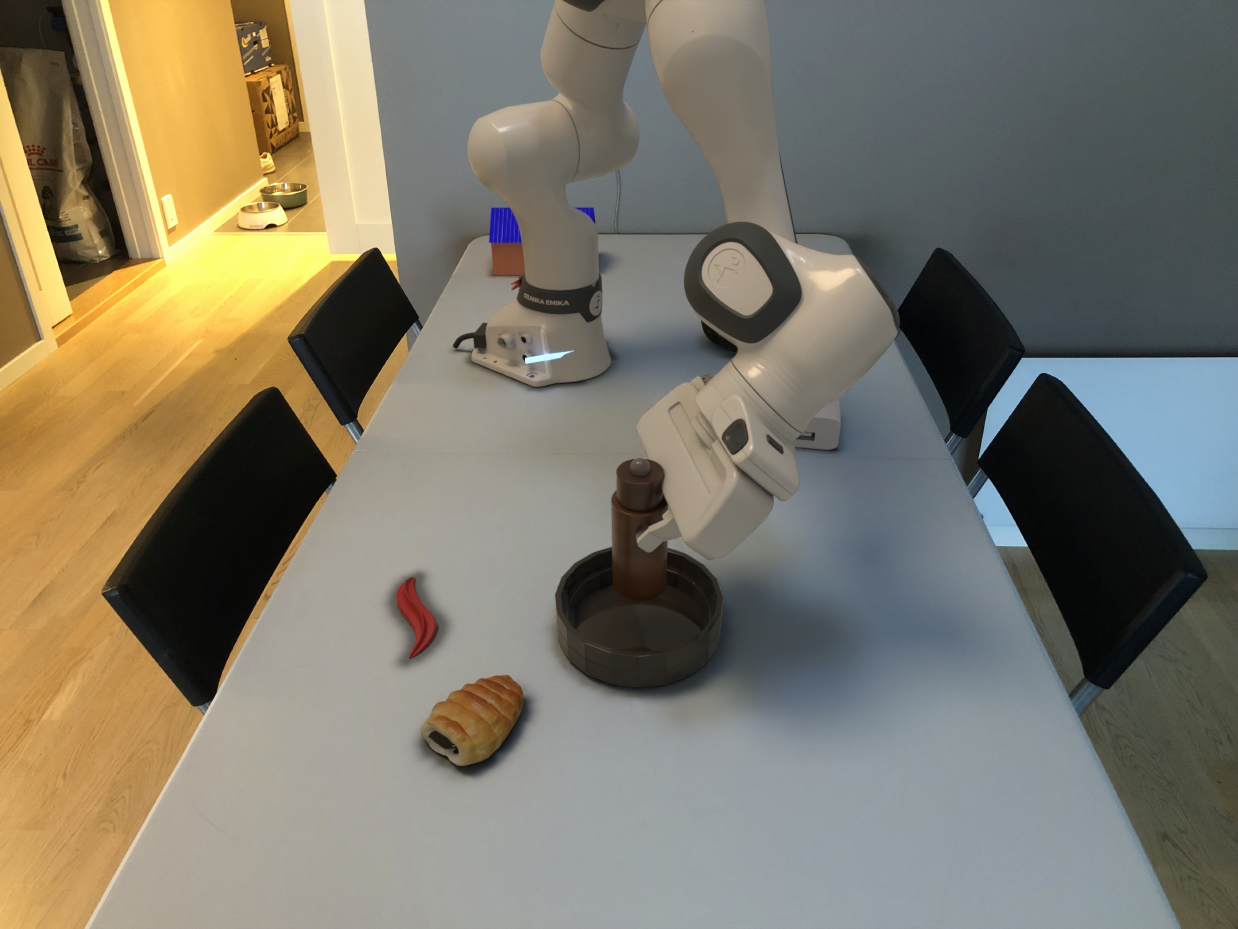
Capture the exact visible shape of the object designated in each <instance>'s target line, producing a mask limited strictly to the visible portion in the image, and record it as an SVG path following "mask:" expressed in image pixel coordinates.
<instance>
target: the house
mask: <svg viewBox="0 0 1238 929" xmlns="http://www.w3.org/2000/svg"><path fill="white" fill-rule="evenodd" d="M573 207H574V208H576V209H578V210H580V211H582V212H584V213H585V214H587V215H588V216H589V217H590V218H591V219H592V221H593V222H594V224H595V225H596V224H597V223H596V216H595V215H596V214H595V209H594V208H595V207H593V206H592V207H587V206H586V207H581V206H580V207H579V206H578V207H575V206H573ZM489 219H490V220H489V221H490V222H489V236H488V243H489V244H490V247H491V258H492V270H493V276H522V275H524V274H525V265H524V255H523V247H522V240H521V234H520V229H519V226H518V223H517V220H516V218H515V216H514V214H513V212H512V211H511V209H510V208H509V207H490V218H489Z"/></svg>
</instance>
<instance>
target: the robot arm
mask: <svg viewBox="0 0 1238 929" xmlns="http://www.w3.org/2000/svg"><path fill="white" fill-rule="evenodd" d="M645 28H646V31H647V37H648V38H647V39H648V44H649V51H650V55H651V60H652V64H653V67H654V70H655V74H656V76H657V79H658V82H659V85H660V87H661V90H662V93H663V95H664V97H665V100H666V102H667V103H668V105H669V107H670V108H671V110H672V112H673V113H674V114H675V115H676V117H677V118H678V120H679V121H680V122H681V124H682V126H683V127H684V128H685V130H686V131H687V132H688V133H689V135H690V136H691V137H692V139H693V140H694V142H695V144H696V145H697V147H698V148H699V149H700V152H701V153H702V154H703V156H704V158H705V159H706V161H707V163H708V164H709V166H710V168H711V170H712V172H713V174H714V176H715V178H716V181H717V183H718V186H719V190H720V193H721V197H722V203H723V208H724V213H725V218H726V223H725V224H722V225H721V226H718V227H717V228H715V229H713V230H711V231H710V232H708V233H707V234H706V235H705V236H703V238H702V239H700V241H699V242H698V243H697V245H696V246H695V247H694V249H693V250H692V252H691V253H690V255H689V258H688V259H687V262H686V265H685V268H684V275H683V289H684V293H685V297H686V299H687V302H688V303H689V306H690V307H691V309H692V310H693V311H694V313H695V314H696V315H697V317H698V318H699V320H700V321H701V320H702V321H703V322H704V323H705V324H707V325H708V326H709V327H710V328H712V329H713V330H715V331H716V332H717V333H718V334H719V335H721V336H722V337H724V338H725V339H727V340H728V341H730V342H731V343H733V344H734V346H735V347H736V348H737V349H738V351H737V352H736V353H735V355H734V356H733V357H732V359H730V360H729V361H728V363H726V364H725V365H724V366H723V367H722V368H721V369H720V370H719V371H718V372H717V373H716V374H715V375H713V374H711V373H709V374H706V375H705V374H704V375H697V376H696V377H694V378H693V379H692V380H690V382H688V381H687V382H683V383H680V384H679V385H677V386H676V387H674V388H673V389H671V391H669V392H668V393H667V394H666V395H664V396H663V397H662V398H661V399H660V400H658V401H657V402H656V403H655V404H654V405H653V406H652V407H650V408H649V409H648V410H647V411H646V412H644V414H643V415H642V416H641V417H640V419H639V420H638V421H639V422H638V423H637V424H636V428H635V431H636V433H637V436H638V438H639V440H640V442H641V445H642V447H643V450H644V452H645V456H644V457H643V458H644V459H649V460H653V461H655V462H657V463H659V464H660V465H661V466H662V468H663V470H664V477H663V482H662V485H661V489H662V492H663V494H664V496H665V499H666V501H667V503H668V506H669V509H668V510H667V511H666V512H665V513H664V514H663V515H662V517H663V519H664V520H662V521H660V522H658V523H656V524H653V525H650V524H648V523H647V522H646V523H645V524H644V525H643V526H641V528H640V530H637V531H636V532H635V538H636V541H637V544H638V547H640V548H641V549H643V550H644V551H646V552H652V551H653V550H654V549H655V548H657V547H658V546H659V545H660V544H661V543H662V542H663V541H664V542H665V541H672V540H675V539H678V538H681V539H682V541H683V543H684V544H685V545H686V546H687V547H689V549H690V550H692V551H694V552H695V553H697V554H698V555H699V556H701V557H702V558H704V559H706V560H708V561H715V560H719V559H722V558H724V557H726V556H728V555H729V554H730V553H731V552H733V551H734V550H735V549H736V548H737V547H738V546H740V545H741V544H743V542H744V541H746V540H747V538H748V537H750V536H751V535H752V534H753V533H754V532H755V531H756V530H757V529H758V528H759V527H760V526H761V525H762V524H763V523H764V522H765V521H766V520H767V518H768V517H769V515H770V514H771V512H772V511H773V508H774V505H775V498H776V499H777V500H779V501H780V502H786V501H788V500H790V499H791V497H793V496H795V494H796V493H798V491H799V488H800V478H799V472H798V466H797V460H796V459H797V458H796V447H795V444H794V443H793V441H794V440H795V439H796V438H797V437H799V436H800V435H801V434H802V433H803V432H804V431H805V430H806V429H807V427H808V426H809V424H810V422H811V421H812V419H813V418H814V416H815V415H816V414H817V413H818V412H819V411H820V410H821V409H822V408H824V407H825V406H826V405H828V404H830V403H831V402H833V401H836V400H838V399H839V398H840V399H841V398H842V397H843V396H845V394H847V392H849V391H850V390H851V389H852V388H853V387H854V386H855V385H856V384H857V383H858V382H859V381H860V380H861V379H862V378H863V377H864V376H865V375H866V374H867V373H868V372H869V371H870V370H871V369H872V368H873V367H874V366H875V365H876V364H877V362H879V360H880V359H881V358H882V357H883V355H884V354H885V353H886V352H887V351H888V349H889V348H890V347H891V345H892V344H893V343H894V341H895V340H896V338H897V336H898V334H899V332H900V326H901V320H900V319H901V318H900V313H899V311H898V308H897V306H896V305H895V303H894V301H893V299H892V298H891V296H890V294H889V293H888V292H887V289H886V288H885V287H884V286H883V284H882V283H881V281H880V279H879V278H878V277H877V275H876V273H874V271H873V269H871V268H870V266H869V264H868V263H866V262H865V261H864V260H863V259H862V258H861V257H860V258H859V257H858V256H856V255H855V254H835V253H833V254H832V253H828V252H823V251H819V250H816V249H812V248H809V247H807V246H805V245H801V244H799V243H798V239H797V234H796V230H795V225H794V219H793V215H792V209H791V204H790V199H789V195H788V194H789V193H788V191H787V185H786V180H785V175H784V169H783V164H782V158H781V153H780V149H779V148H780V147H779V138H778V125H777V115H776V106H775V104H776V103H775V93H774V80H773V78H774V77H773V66H772V65H773V64H772V49H771V40H770V31H769V20H768V14H767V7H766V1H765V0H554V2H553V6H552V9H551V12H550V16H549V20H548V23H547V26H546V30H545V34H544V38H543V41H542V45H541V48H540V63H541V68H542V71H543V74H544V76H545V78H546V79H547V81H548V83H549V84H550V85H551V86H552V87H553V89H555V90H556V92H558V93H557V95H555V97H553V98H551V99H548V100H544V101H536V102H529V103H522V104H515V105H509V106H505V107H503V108H501V109H498V110H495V111H493V112H491V113H488V114H486V115H483V116H482V117H479V118H478V119H476V120H475V121H474V124H473V125H472V127H471V129H470V132H469V135H468V140H467V157H468V161H469V164H470V167H471V169H472V172H473V174H474V175H475V177H476V179H477V180H478V181H479V182H480V183H481V184H482V185H483V186H484V187H485V188H486V189H488V190H489V191H491V192H492V193H494V194H495V195H497V196H498V197H500V199H502V200H503V201H504V203H505V204H506V205H507V207H508V208H510V209H511V211H512V212H513V214H514V216H515V218H516V220H517V223H518V226H519V229H520V234H521V240H522V247H523V255H524V265H525V274H524V275H519V276H518V279H516V280H514V281H513V282H511V283H510V286H511V288H510V290H511V291H514V290H516V289H518V291H517V295H516V297H514V299H512V300H511V301H509V302H508V303H507V304H506V305H505V306H503V307H501V309H500V310H498V311H497V312H495V313H494V314H493V315H492V316H491V317H490V318H489V319H488V322H482V323H481V324H480V326H479V327H478V328H477V329H476V330H475V331H473V332H468V333H464V334H462V335H459V336H458V337H457V338H455V341H454V342H453V344H452V348H454V349H455V350H457V349H458V348H459V347H460V345H461V344H462V342H464V341H466V340H470V339H472V340H473V350H472V353H471V361H472V362H473V363H475V364H478V365H480V366H482V367H484V368H487V369H489V370H492V371H494V372H496V373H499V374H502V375H504V376H507V377H509V378H511V379H514V380H516V381H519V382H521V383H524V384H526V385H527V386H528V385H529V386H531V387H534V388H539V387H545V386H548V385H552V384H553V385H554V384H560V383H561V384H562V383H573V382H574V383H575V382H580V381H586V380H588V379H589V380H590V379H592V378H595V377H597V376H599V375H601V374H602V373H604V372H605V371H607V370H608V369H609V367H610V366H611V364H612V358H611V355H610V351H609V348H608V345H607V342H606V336H605V331H604V324H603V319H602V318H603V317H602V313H603V301H604V300H603V298H604V297H603V277H602V275H601V273H600V262H599V259H600V257H599V256H600V254H599V231H598V227H597V225H596V224H594V222H593V221H592V219H591V218H590V217H589V216H588V215H587V214H585V213H584V212H582V211H580V210H578V209H576V208H574V207H575V206H571V205H569V203H568V198H567V194H566V188H567V187H566V186H567V184H572V183H575V182H580V181H585V180H591V179H596V178H600V177H604V176H606V175H608V174H611V173H613V172H615V171H617V170H619V169H621V168H623V167H625V166H627V165H628V164H630V163H631V162H632V161H633V160H634V158H635V156H636V154H637V151H638V148H639V143H640V127H639V123H638V119H637V116H636V115H635V113H634V110H633V109H632V108H631V106H630V105H629V104H628V103H627V101H625V100H624V89H625V84H626V80H627V77H628V74H629V72H630V69H631V66H632V63H633V60H634V58H635V56H636V52H637V49H638V48H639V44H640V42H641V40H642V37H643V34H644V31H645Z"/></svg>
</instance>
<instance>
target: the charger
mask: <svg viewBox="0 0 1238 929" xmlns="http://www.w3.org/2000/svg"><path fill="white" fill-rule="evenodd" d="M841 419H842V418H841V398H839V399H838V400H836V401H833V402H831V403H830V404H828V405H826V406H825V407H824V408H822V409H821V410H820V411H819V412H818V413H817V414H816V415H815V416H814V418H813V419H812V421H811V422H810V424H809V426H808V427H807V429H806V430H805V431H804V432H803V433H802V434H801V435H800V436H799V437H797V438H796V439H795V440H794V441H793V443H794V444H795V448H802V449H803V448H804V449H811V450H812V449H813V450H824V451H828V450H834V449H836V448H838V446H839V440H840V434H841V427H842V420H841Z"/></svg>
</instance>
